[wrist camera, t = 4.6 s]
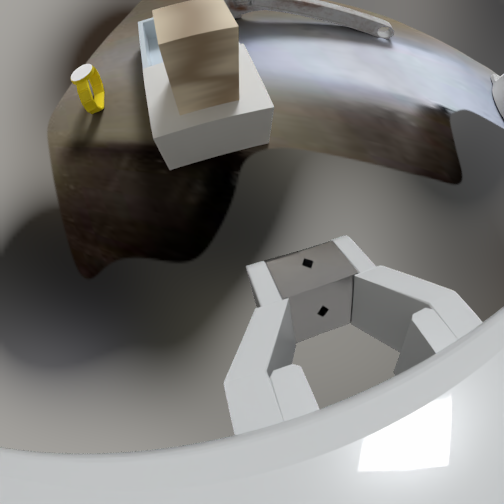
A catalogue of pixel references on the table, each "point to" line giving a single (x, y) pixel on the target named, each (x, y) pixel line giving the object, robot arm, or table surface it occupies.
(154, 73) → the riser
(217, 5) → the block
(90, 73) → the watch
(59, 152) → the table surface
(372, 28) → the wrench
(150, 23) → the tray
